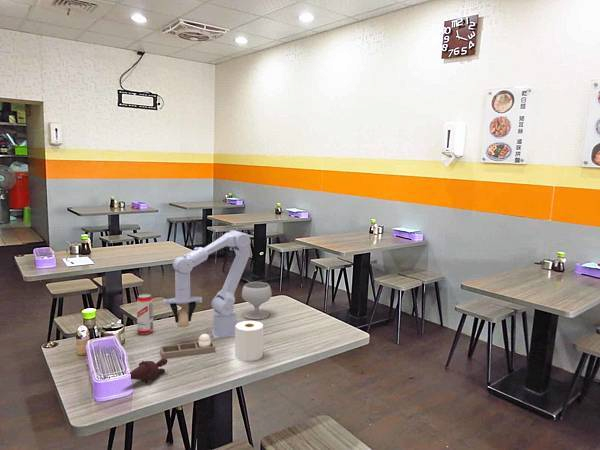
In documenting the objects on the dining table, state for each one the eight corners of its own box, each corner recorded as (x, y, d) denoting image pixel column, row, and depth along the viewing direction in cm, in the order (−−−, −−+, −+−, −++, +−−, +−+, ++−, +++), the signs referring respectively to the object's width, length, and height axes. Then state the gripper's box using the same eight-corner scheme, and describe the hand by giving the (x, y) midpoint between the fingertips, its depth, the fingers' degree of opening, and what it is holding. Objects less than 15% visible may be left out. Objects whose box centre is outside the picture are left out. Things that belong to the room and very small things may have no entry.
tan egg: (188, 322, 176) (188, 307, 175) (189, 326, 172) (189, 311, 171) (176, 323, 175) (176, 308, 174) (178, 327, 170) (177, 312, 170)
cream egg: (209, 346, 170) (209, 331, 169) (211, 351, 166) (211, 335, 165) (197, 348, 168) (197, 332, 168) (199, 352, 164) (199, 336, 164)
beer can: (148, 336, 180) (147, 298, 178) (134, 334, 181) (133, 297, 179) (156, 330, 186) (155, 294, 184) (142, 329, 187) (141, 293, 185)
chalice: (276, 313, 211) (277, 283, 209) (261, 322, 199) (262, 290, 197) (251, 309, 217) (251, 279, 215) (235, 317, 204) (236, 286, 202)
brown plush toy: (131, 374, 134) (174, 362, 145) (120, 361, 138) (162, 351, 150) (127, 393, 136) (169, 380, 147) (116, 380, 140) (158, 368, 151)
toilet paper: (266, 352, 168) (266, 321, 166) (258, 363, 158) (258, 331, 156) (240, 349, 170) (241, 319, 168) (231, 360, 160) (231, 328, 158)
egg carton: (212, 345, 172) (212, 339, 172) (215, 353, 165) (215, 347, 165) (160, 352, 165) (159, 346, 164) (161, 360, 158) (161, 354, 158)
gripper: (200, 283, 178) (200, 316, 179) (162, 286, 172) (163, 319, 174) (202, 288, 171) (202, 321, 173) (164, 291, 166) (164, 325, 168)
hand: (183, 321), depth 173 cm, fingers closed on tan egg, 4 cm apart
